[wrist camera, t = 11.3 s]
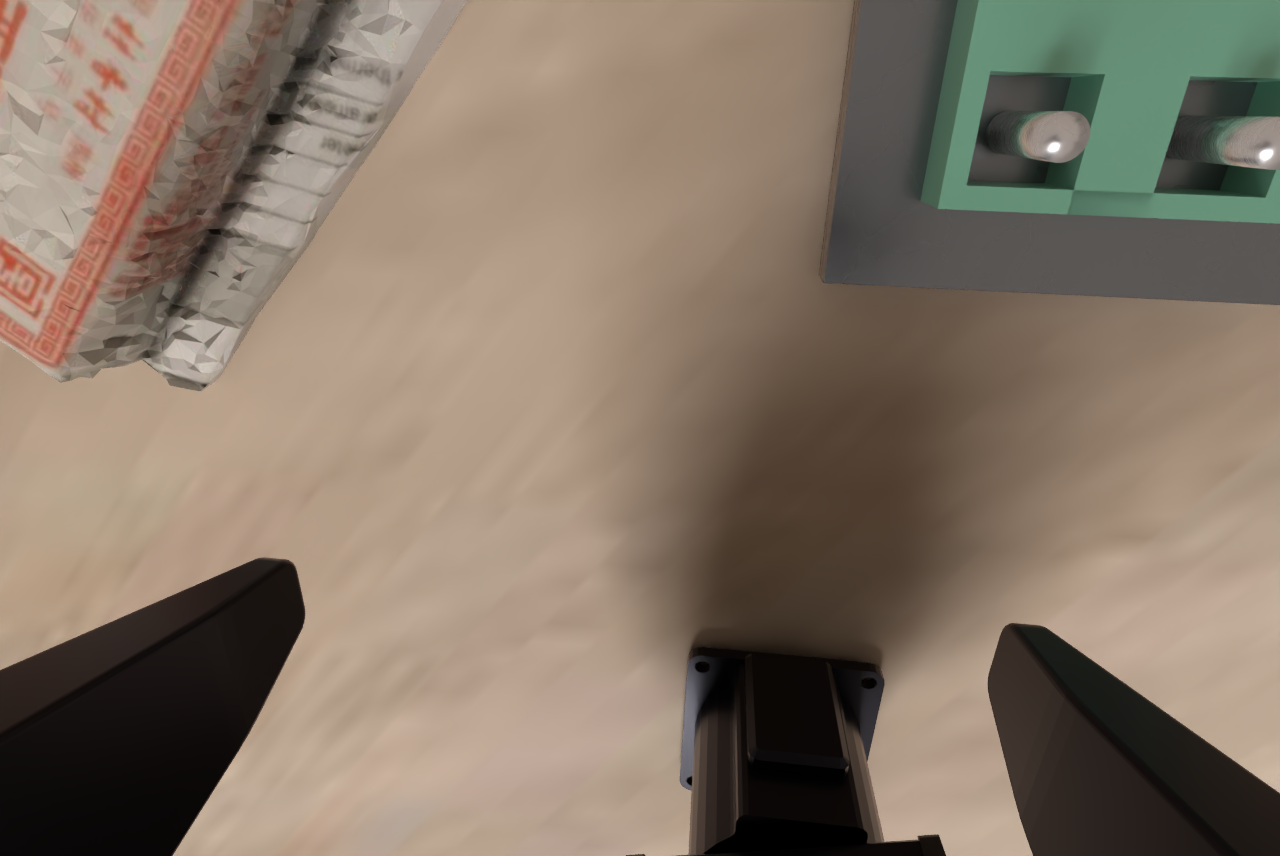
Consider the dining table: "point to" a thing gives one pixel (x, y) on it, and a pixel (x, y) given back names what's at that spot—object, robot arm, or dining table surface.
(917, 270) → the grey metal peg base
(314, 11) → the packaged product
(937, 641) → the dining table surface
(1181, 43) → the board
